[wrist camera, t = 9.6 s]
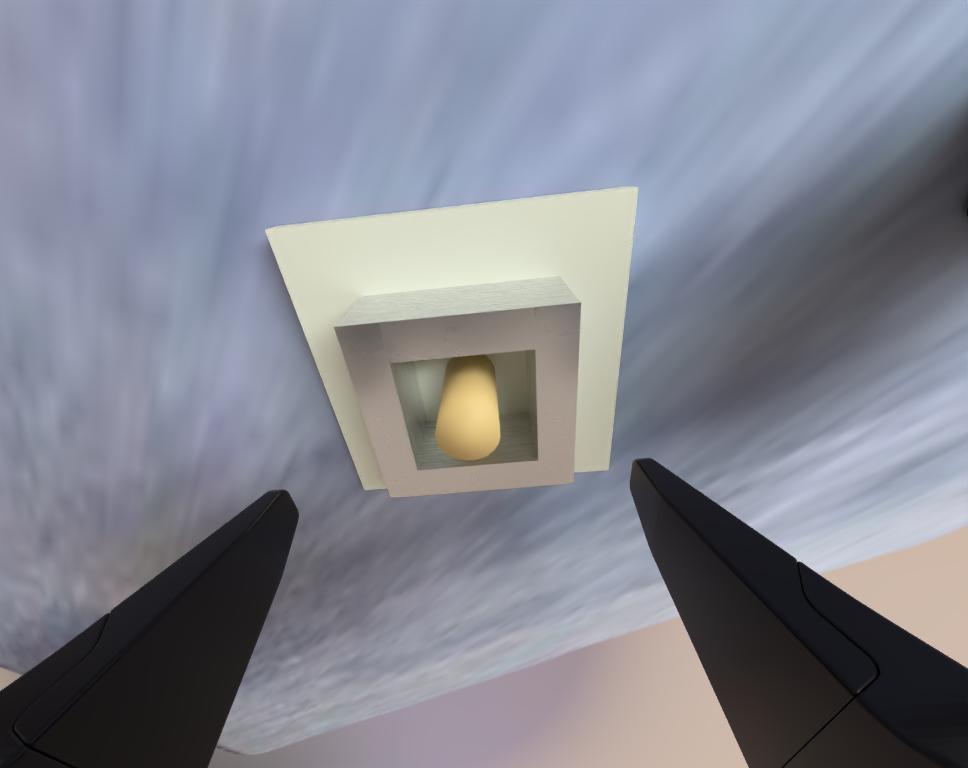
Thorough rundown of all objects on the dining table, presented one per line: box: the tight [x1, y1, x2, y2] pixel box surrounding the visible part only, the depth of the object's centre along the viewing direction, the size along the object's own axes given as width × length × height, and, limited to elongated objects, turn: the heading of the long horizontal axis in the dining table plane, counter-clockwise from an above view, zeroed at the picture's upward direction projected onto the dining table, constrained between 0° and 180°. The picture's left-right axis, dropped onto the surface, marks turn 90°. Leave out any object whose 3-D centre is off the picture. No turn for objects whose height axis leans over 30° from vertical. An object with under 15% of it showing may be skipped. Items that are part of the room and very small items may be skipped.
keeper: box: [265, 186, 638, 490], centre depth 13 cm, size 12×12×5 cm
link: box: [334, 276, 581, 498], centre depth 13 cm, size 7×7×3 cm
